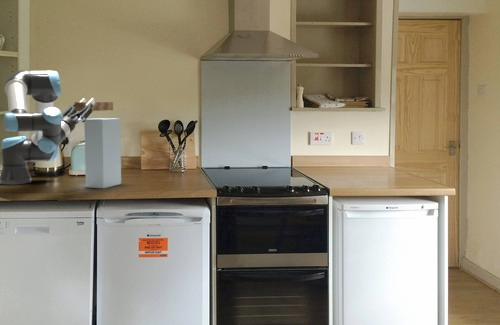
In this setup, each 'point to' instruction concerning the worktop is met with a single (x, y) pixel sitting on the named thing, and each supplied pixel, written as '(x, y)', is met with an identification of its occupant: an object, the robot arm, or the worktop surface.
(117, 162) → the stand
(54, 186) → the worktop surface
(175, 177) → the worktop surface
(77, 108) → the rod
